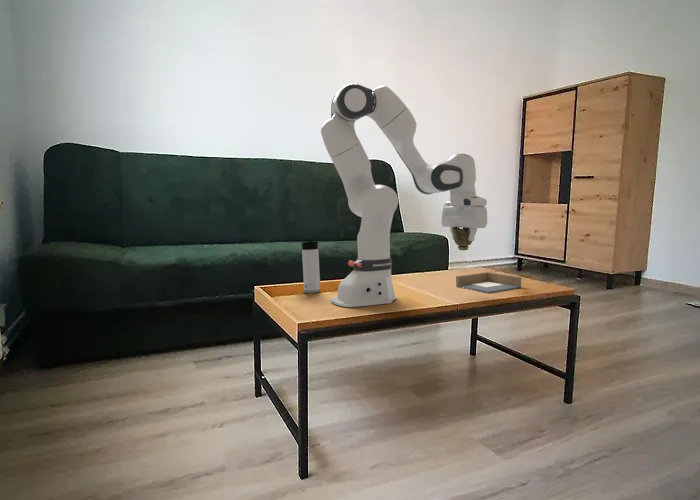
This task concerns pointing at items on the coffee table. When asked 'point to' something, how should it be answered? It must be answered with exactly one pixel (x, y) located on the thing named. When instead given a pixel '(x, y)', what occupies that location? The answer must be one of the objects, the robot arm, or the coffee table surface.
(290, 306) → the coffee table surface
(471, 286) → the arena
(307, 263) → the travel mug
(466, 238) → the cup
